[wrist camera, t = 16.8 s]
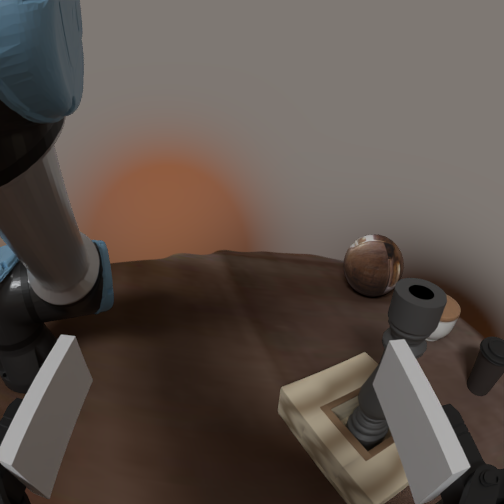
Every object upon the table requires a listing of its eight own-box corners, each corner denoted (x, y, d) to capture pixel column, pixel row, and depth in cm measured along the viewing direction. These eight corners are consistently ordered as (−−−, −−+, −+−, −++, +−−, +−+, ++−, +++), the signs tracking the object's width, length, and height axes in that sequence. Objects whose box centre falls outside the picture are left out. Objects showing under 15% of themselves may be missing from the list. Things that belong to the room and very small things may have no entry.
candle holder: (382, 422, 40) (441, 280, 30) (381, 455, 35) (456, 313, 24) (344, 418, 42) (389, 273, 31) (339, 451, 36) (395, 305, 26)
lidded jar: (416, 350, 56) (431, 312, 52) (399, 319, 66) (410, 284, 62) (456, 345, 56) (471, 309, 52) (437, 317, 66) (449, 283, 62)
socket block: (277, 411, 45) (281, 386, 42) (356, 376, 51) (365, 351, 48) (360, 519, 27) (376, 504, 24) (440, 458, 33) (459, 435, 30)
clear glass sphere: (332, 277, 83) (340, 224, 77) (382, 276, 84) (393, 226, 78) (349, 310, 70) (361, 250, 63) (405, 306, 70) (420, 250, 64)
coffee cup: (495, 403, 40) (521, 364, 35) (461, 397, 43) (485, 357, 39) (492, 375, 46) (513, 336, 42) (460, 368, 50) (480, 329, 45)
